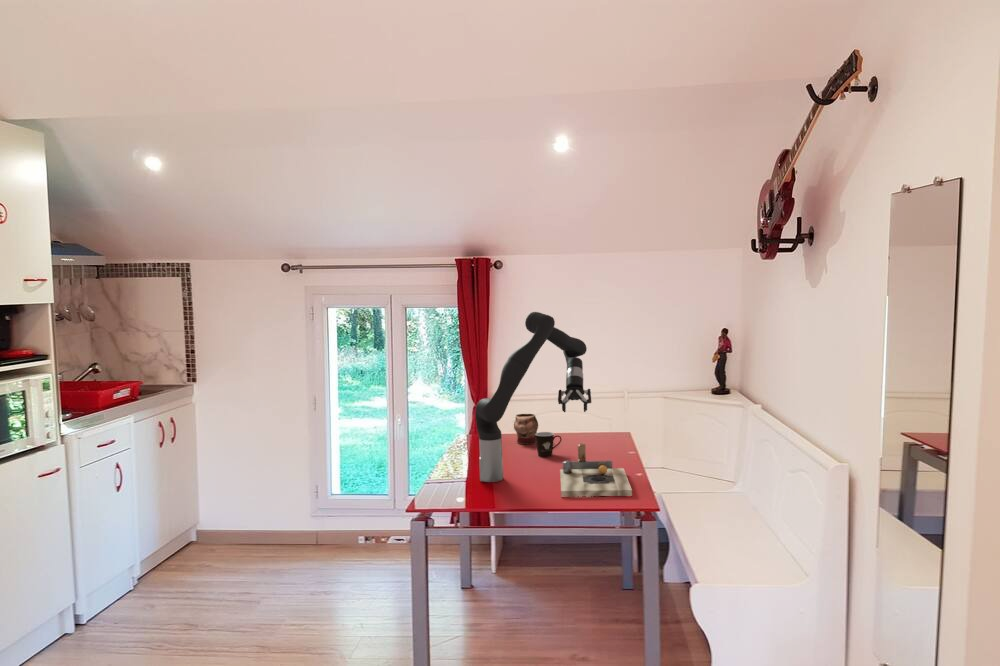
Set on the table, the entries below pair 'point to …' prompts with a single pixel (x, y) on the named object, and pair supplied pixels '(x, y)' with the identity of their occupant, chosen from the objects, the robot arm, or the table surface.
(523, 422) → the decorative planter
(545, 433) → the coffee mug
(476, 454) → the table surface
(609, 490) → the board
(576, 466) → the catapult lever
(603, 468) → the ball
